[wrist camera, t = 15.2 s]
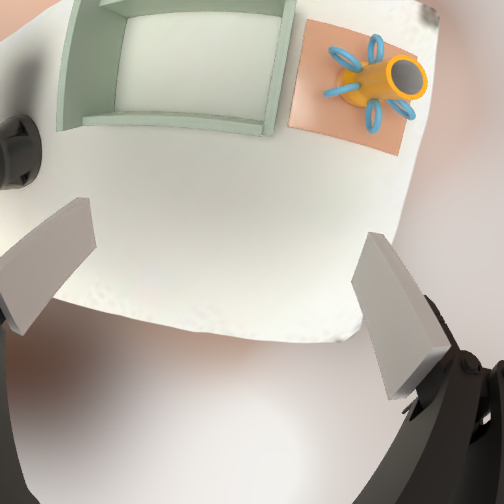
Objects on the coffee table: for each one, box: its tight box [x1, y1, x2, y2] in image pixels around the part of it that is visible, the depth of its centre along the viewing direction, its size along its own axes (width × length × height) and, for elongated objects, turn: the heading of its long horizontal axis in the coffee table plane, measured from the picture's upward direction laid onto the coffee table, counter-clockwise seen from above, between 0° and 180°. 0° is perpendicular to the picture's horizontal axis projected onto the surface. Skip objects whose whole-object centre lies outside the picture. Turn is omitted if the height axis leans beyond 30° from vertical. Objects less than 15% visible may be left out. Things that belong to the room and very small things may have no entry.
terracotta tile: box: [288, 19, 417, 156], centre depth 29 cm, size 16×16×1 cm
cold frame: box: [56, 0, 297, 137], centre depth 24 cm, size 25×18×12 cm
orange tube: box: [323, 34, 427, 134], centre depth 22 cm, size 12×10×15 cm
